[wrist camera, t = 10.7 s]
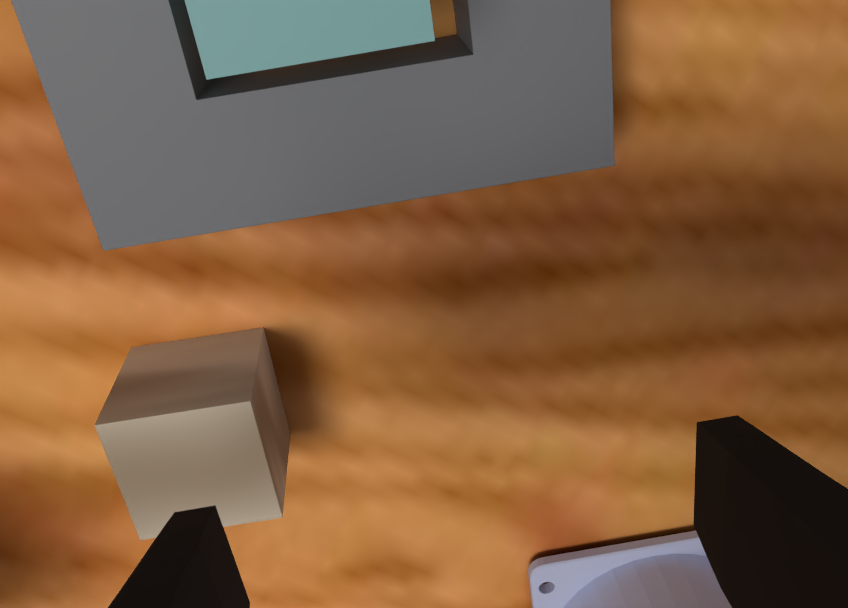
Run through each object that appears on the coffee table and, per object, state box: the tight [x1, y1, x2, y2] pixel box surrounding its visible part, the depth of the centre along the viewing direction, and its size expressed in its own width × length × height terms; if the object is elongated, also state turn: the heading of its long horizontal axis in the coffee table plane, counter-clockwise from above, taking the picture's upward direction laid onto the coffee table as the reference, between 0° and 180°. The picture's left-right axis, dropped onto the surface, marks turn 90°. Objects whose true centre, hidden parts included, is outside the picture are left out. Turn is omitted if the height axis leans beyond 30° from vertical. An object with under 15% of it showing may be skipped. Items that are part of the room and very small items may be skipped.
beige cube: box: [95, 327, 290, 540], centre depth 20 cm, size 4×4×4 cm
